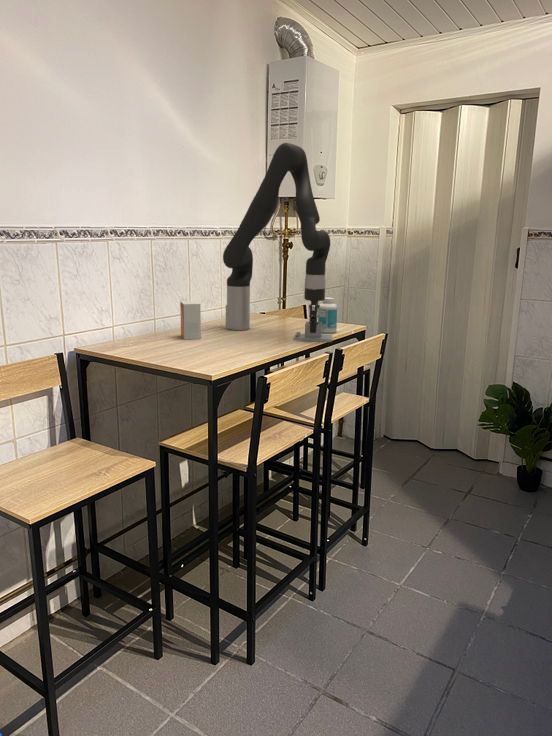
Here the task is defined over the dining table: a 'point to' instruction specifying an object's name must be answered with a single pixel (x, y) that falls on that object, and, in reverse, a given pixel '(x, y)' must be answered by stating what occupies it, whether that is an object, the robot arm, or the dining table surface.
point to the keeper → (323, 337)
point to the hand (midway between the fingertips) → (313, 330)
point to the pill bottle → (328, 315)
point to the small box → (190, 320)
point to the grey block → (313, 335)
